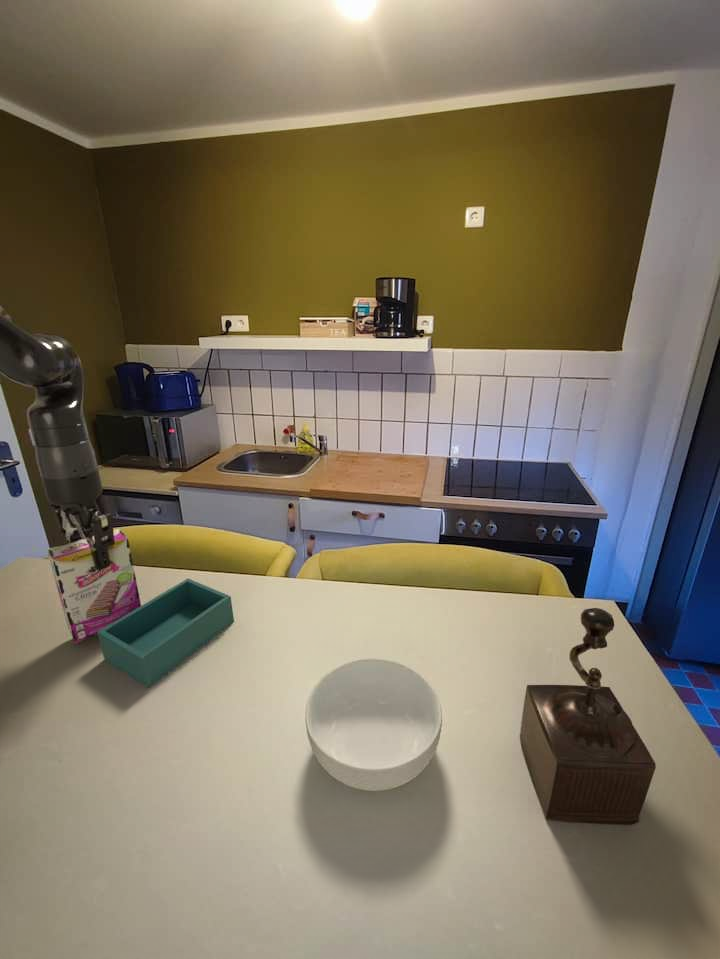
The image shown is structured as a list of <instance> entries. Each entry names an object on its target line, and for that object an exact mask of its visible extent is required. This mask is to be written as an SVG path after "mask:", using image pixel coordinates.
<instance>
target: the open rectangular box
mask: <svg viewBox="0 0 720 959" xmlns="http://www.w3.org/2000/svg"><path fill="white" fill-rule="evenodd" d="M234 622H235V617H234V611H233V603H232V596H231V595H229V594H227V593H224V592H221V591H219V590H217V589H214V588H213V587H210V586H207V585H205V584H203V583H200V582H198V581H195V580H193V579H190V578H186V579H184V580H183V581H180V582H179V583H177V584H175V585H174V586H173V587H171V588H169V589H168V590H165V591H164V592H162V593H160V594H159V595H157V596H156V597H153V598H152V599H150V600H149V601H147V602H145V603H144V604H141V606H140V607H139V608H137V609H135V610H133V611H132V612H130V613H128V614H127V615H125V616H123V617H122V618H120V619H118V620H117V621H115V622H113V623H111V624H110V625H108V626H106V627H105V628H103V629H101V630H100V631H98V632H97V634H96V635H97V637H98V641H99V644H100V648H101V652H102V655H103V659H104V661H106V662H107V663H110V664H111V665H112V666H114V667H115V668H117V669H119V670H120V671H121V672H123V673H125V674H126V675H128V676H129V677H131V678H133V679H134V680H136V681H137V682H139V683H140V684H142V685H144V686H145V687H146V688H150V687H151V686H152V685H154V684H155V683H156V682H158V681H159V680H160V679H161V678H163V677H164V676H166V675H167V674H168V673H170V672H171V671H172V670H173V669H175V668H176V667H177V666H179V665H180V664H182V662H184V661H185V660H186V659H188V658H189V657H190V656H192V655H193V654H194V653H196V651H198V650H199V649H200V648H202V647H203V646H205V645H206V644H207V643H208V642H209V641H211V640H212V639H213V638H215V637H216V636H217V635H219V634H220V633H221V632H223V631H224V630H225V629H226V628H228V627H229V626H231V624H234Z"/></svg>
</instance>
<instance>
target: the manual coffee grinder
mask: <svg viewBox="0 0 720 959" xmlns="http://www.w3.org/2000/svg"><path fill="white" fill-rule="evenodd" d="M580 623H581V625H582V626H583V628H584V629H585V632H586V633H585V635H584V636H583V637H582V642H583V643H580V644H577V645H575V646H573V647H572V648H571V649H570V651H569V656H568V657H569V661H570V663H571V665H572V666H573V668H574V670H575V672H577V674H578V675H579V677H580V679H581V680H582V681H583V682H584V683H585V685H579V684H578V685H577V684H576V685H575V684H526V688H525V695H524V701H523V708H522V715H521V722H520V723H521V725H520V733H519V740H520V747H521V752H522V755H523V758H524V761H525V764H526V766H527V770H528V774H529V777H530V780H531V782H532V786H533V788H534V792H535V793H536V796H537V799H538V802H539V804H540V807H541V810H542V812H543V815H544V818H545V820H550V821H557V822H563V823H578V824H579V823H581V824H599V825H619V826H620V825H621V826H623V825H624V826H632V825H634V824H636V823H639V822H640V815H641V813H642V809H643V806H644V804H645V801H646V798H647V796H648V792H649V790H650V787H651V783H652V781H653V777H654V775H655V770H656V767H657V765H656V762H655V760H654V758H653V756H652V755H651V752H650V751H649V750H648V747H647V746H646V745H645V743H644V741H643V740H642V737H641V736H640V734H639V733H638V731H637V730H636V728H635V726H634V724H633V721H632V719H631V718H630V716H629V715H628V714H627V712H626V711H625V709H624V708H623V706H622V705H621V703H620V701H619V700H618V698H617V697H616V695H615V694H614V691H612V689H611V687H610V686H602V684H601V679H602V677H603V675H602V672H601V670H600V669H598V668H597V667H591V668H590V669H588V671H587V670H586V669H585V668H584V666H583V665H582V663H581V661H580V658H579V656H580V655H581V654H584V653H585V652H587V651H589V650H598V649H604V648H607V647H608V642H607V639H606V637H607V636H608V635H609V633H611V632H612V631H613V630H614V628H615V620H614V617H613V615H612V614H611V613H610V612H609V611H607V610H604V609H602V608H599V607H592V608H585V609H584V610H583V611H582V612H581V614H580Z"/></svg>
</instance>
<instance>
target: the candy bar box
mask: <svg viewBox="0 0 720 959" xmlns="http://www.w3.org/2000/svg"><path fill="white" fill-rule="evenodd" d="M113 532H114V541H115V545H113V546H110V547H107V550H108V554H109V558H110V563H111V564H110V566H109V567H107V568H105V569H103V570H100V571H99V570H97V569H95V566H94V562H93V558H92V554H91V549H90V547H89V545H88V543H87V540H85V539H81V540H78V541H74V542H71V543H70V542H68V543H64V544H60V545H56V546H53V547H50V548H47V549H46V552H47V556H48V560H49V562H50V563H49V564H50V567H51V572H52V574H53V578H54V581H55V585H56V588H57V589H56V590H57V593H58V595H59V600H60V603H61V607H62V611H63V615H64V619H65V622H66V626H67V630H68V631H69V633H70V636H71V637H72V640H73V642H74V643H75V644H77V643H80V642H82V641H85V640H86V639H89V638H90V637H93V636H96V635H98V634H97V632H98V631H100V630H101V629H103V628H105V627H106V626H108V625H110V624H111V623H113V622H115V621H117V620H118V619H120V618H122V617H123V616H125V615H127V614H128V613H130V612H132V611H133V610H135V609H137V608H139V607H140V606H142V603H141V599H140V598H141V597H140V592H139V587H138V582H137V577H136V573H135V572H136V571H135V568H134V562H133V558H132V553H131V547H130V546H131V545H130V541H129V538H128V536H127V535H126V534H125V533H124V532H123V531H122V530H121V529H120V528H117V529H113ZM106 537H107V536H106ZM92 538H93V540H94V536H93V537H92ZM94 542H95V540H94Z"/></svg>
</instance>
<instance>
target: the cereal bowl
mask: <svg viewBox="0 0 720 959" xmlns="http://www.w3.org/2000/svg"><path fill="white" fill-rule="evenodd" d="M442 712H443V711H442V705H441V702H440V699H439V697H438V694H437V692H436V690H435V689H434V687H433V686H432V685H431V683H430V682H429V681H428V679H427V678H425V676H423V675H422V674H421V673H420V672H418V671H417V670H415V669H414V668H412V667H410V666H409V665H406V664H404V663H401V662H399V661H395V660H392V659H388V658H380V657H379V658H378V657H368V658H361V659H355V660H351V661H347V662H345V663H343V664H340V665H338V666H337V667H334V668H333V669H332V670H330V671H329V672H327V673H326V674H324V676H322V677H321V678H320V679H319V680H318V682H317V683H316V684H315V685H314V686H313V688H312V690H311V692H310V695H309V696H308V699H307V701H306V706H305V717H304V718H305V727H306V735H307V738H308V741H309V746H310V747H311V750H312V753H313V754H314V756H315V758H316V759H317V761H318V763H319V764H320V765H321V767H322V768H323V769H324V770H325V771H326V772H327V773H328V774H330V776H331V777H332V778H334V779H336V780H337V781H338V782H341V783H342V784H344V785H346V786H349V787H351V788H355V789H358V790H364V791H367V792H369V791H371V792H374V791H375V792H378V791H379V792H380V791H387V790H391V789H395V788H398V787H400V786H403V785H405V784H407V783H408V782H410V781H412V780H413V779H414V778H417V777H418V776H419V775H420V774H421V773H422V772H424V769H425V768H427V766H428V764H429V763H430V762H431V760H432V758H433V757H434V755H435V752H436V750H437V748H438V745H439V741H440V738H441V732H442V726H443V713H442Z"/></svg>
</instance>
